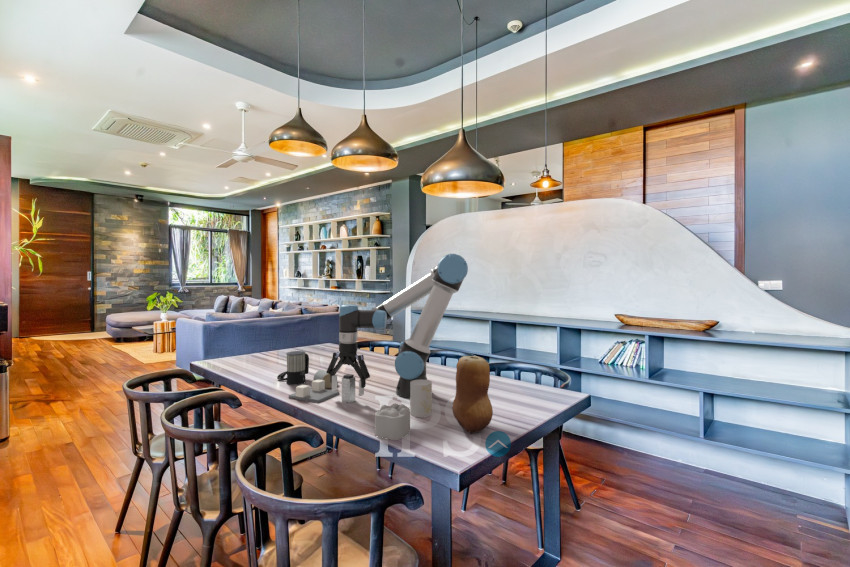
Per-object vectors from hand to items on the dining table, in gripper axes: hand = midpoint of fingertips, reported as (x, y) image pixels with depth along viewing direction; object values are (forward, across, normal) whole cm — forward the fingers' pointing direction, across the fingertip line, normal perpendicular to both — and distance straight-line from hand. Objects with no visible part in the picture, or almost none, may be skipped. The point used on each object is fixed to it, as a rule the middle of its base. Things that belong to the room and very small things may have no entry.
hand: (347, 392), depth 173 cm
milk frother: (+4, -45, +15) cm, 47 cm away
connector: (+4, 0, 0) cm, 4 cm away
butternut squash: (+3, +57, -9) cm, 58 cm away
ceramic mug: (+4, -22, +15) cm, 27 cm away
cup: (+3, +34, -1) cm, 35 cm away
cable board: (+4, -18, 0) cm, 18 cm away
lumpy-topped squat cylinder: (+3, +34, -21) cm, 40 cm away
